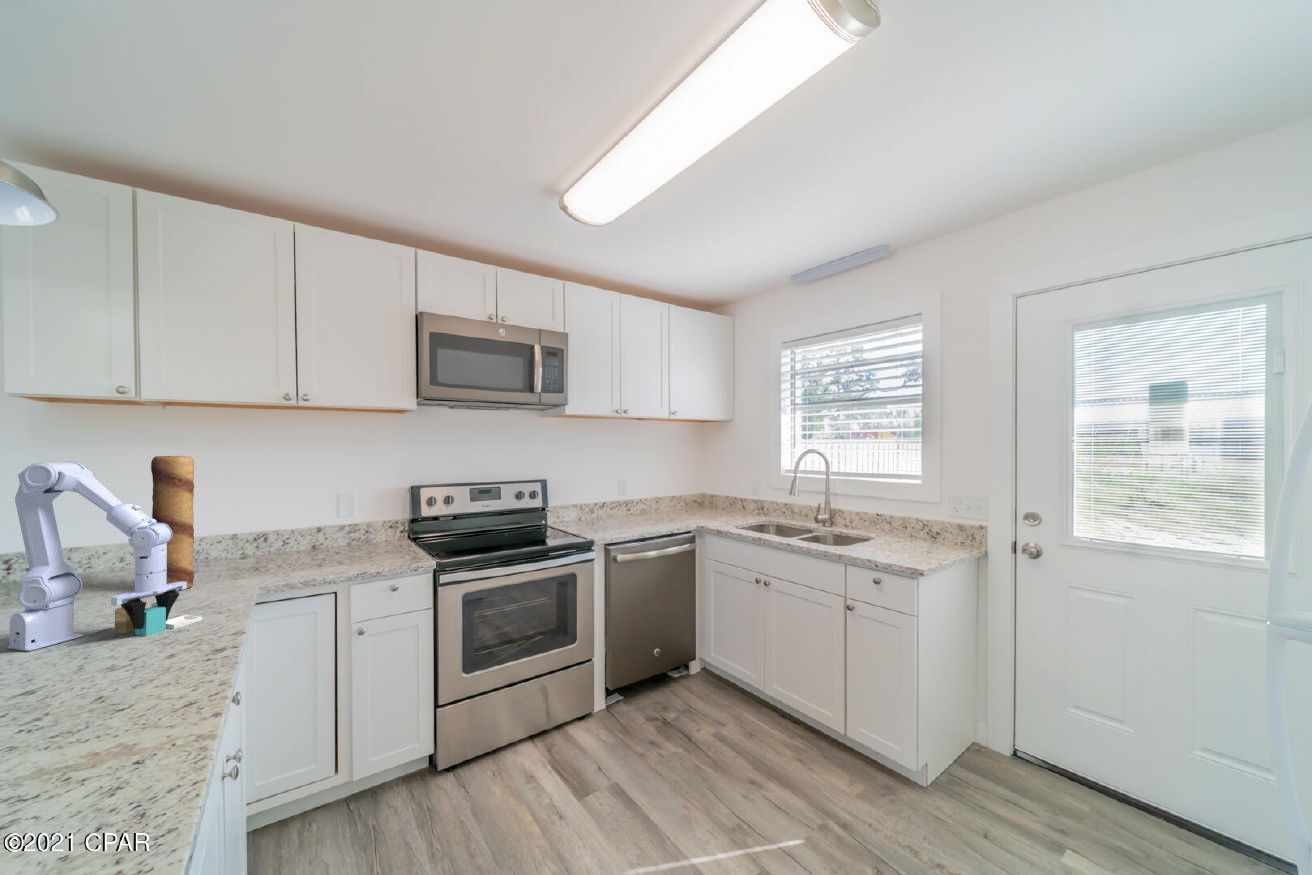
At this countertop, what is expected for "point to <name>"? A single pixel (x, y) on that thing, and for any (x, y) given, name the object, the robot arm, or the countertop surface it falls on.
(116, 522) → the robot arm
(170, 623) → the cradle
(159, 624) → the teal block
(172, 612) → the block
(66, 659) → the countertop surface
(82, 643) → the countertop surface
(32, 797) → the countertop surface
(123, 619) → the ochre block
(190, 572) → the brown striped cylinder
